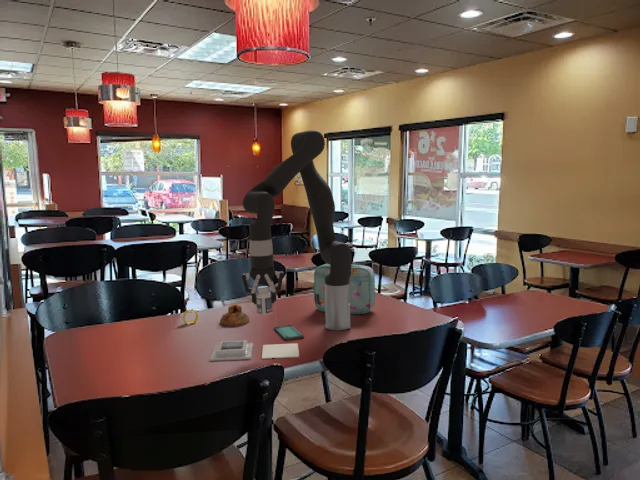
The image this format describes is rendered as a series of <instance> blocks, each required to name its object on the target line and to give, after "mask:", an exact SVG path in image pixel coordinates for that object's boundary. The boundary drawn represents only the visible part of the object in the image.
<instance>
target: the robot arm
mask: <svg viewBox="0 0 640 480" xmlns="http://www.w3.org/2000/svg"><path fill="white" fill-rule="evenodd" d="M325 143H326V142H325V137H324V135H323V134H322V132H320V131H319V130H316V129H310V130H306V131H305V130H304V131H301V132H297V133H295V134H293V135H292V137H291V139H290V149H291V153H292V154H291V155H290V156H288V157H287V158H286V159H284V160H283V161H282V162H280V163H279V164H277V165H276V166H275V167H274V168H273V169H272V170H271V171H270V172H269V173H268V175H266V177H265V178H264V179H263V180H262V181H261V182H259V183H258V184H256V185H254V187H252V188H251V189H250V190H248V191H247V192H246V194H245V195H244V197H243V200H242V207H243V209H244V210H245V211H246V212H247V213H249V214H256V219H255V220H254V221H251V222H249V226H248V231H249V235H248V236H249V258H250V259H249V261H250V262H249V263H250V271H249V272H247V273H242V274H241V280H242V284H243V287H244V290H245V292H246V293H250V294H251V302H252V303H253V304H254V305H256V295H257V292H256V291H257V288H258V285H263V284H265V285H266V284H268V287H269V289H271V294H272V304H275V302H277V292H278V291H281V290H282V284H283V280H284V271H283V270H281V271H277V270H276V269H275V268H274V267H275V266H274V265H275V264H274V249H273V241H272V240H273V239H272V230H271V229H272V228H271V227H272V222H273V216H274V213H275V207H276V205H275V199H274V197H278V196H279V195H281V194H282V192H283V191H284V190H285V189H286V188H287V186H288V185H289V184H290V183H291V181H292V180H293V179H294V178H295V177H296V176H297V175H298V174H300V177H301V180H302V183H303V186H304V190H305V193H306V199H307V203H308V207H309V209H310V210H309V211H310V212H311V215H312V216H311V217H312V219H313V224H314V227H315V231H316V236H317V240H318V241H317V242H318V249H319V254H320V256H321V259H322V261H324V263H325V264H330V274H329V275H326V276H325V312H324V314H325V315H324V316H325V318H324V319H325V328H326V329H327V330H331V331H344V330H348V329H349V330H350V329H351V314H350V303H349V278H350V276H351V264H352V250H351V248H350V246H349V245H348V244H347V243H346V242H342V241H338V239H337V236H336V233H335V228H334V219H335V214H336V206H335V205H336V204H335V200H334V196H333V192H332V190H331V188H330V185H328V182H326V180H325V179H324V178H323V176H321V174H320V173H319V171H318V170H317V168H316V167H315V163H314V160H315V159H316V158H317V157H319V155H321V154H322V153H323V151H324V149H325V146H326V144H325ZM275 275H276V278H277V279H278V280H277V281H278V282H277V285H276V286H275V284H274V281H273V279H274V277H275ZM250 277H251V278H252V280H253V285H252V287H250V284H249V279H250Z"/></svg>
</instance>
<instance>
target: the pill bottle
mask: <svg viewBox="0 0 640 480" xmlns="http://www.w3.org/2000/svg"><path fill="white" fill-rule="evenodd" d="M256 291H257V293H256V304H255V305H256V314H257V315H259V316H269V315H272V314H273V312H274V309H273V308H274V307H273V303H272V292H270V286H269V285H268V286H267V285H261V286H257V288H256Z"/></svg>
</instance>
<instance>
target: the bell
mask: <svg viewBox="0 0 640 480" xmlns="http://www.w3.org/2000/svg"><path fill="white" fill-rule="evenodd" d="M242 308H243V307H242V305H240V304H236V303H235V304H230V305H229V306H228V308H227V309H228V312H226V313H224V314H223V315H222V316H221V317H220V319H219V323H220V325H222V326H224V327H228V328H233V327H241V326H245V325H246V324H248V323H249V322H250V318H249V315H247V314H246V313H245V312H243V311H242V310H243V309H242Z"/></svg>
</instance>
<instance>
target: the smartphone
mask: <svg viewBox="0 0 640 480" xmlns="http://www.w3.org/2000/svg"><path fill="white" fill-rule="evenodd" d="M273 330H274V331H275V332H276V333H277V334H278V335H279V336H280V337H281V338H282V340H284V341H285V342H286V341H287V342H289V341H295V340H301V339H304V338H305V335H303V334H302V333H301V332H300V331H299V330H298V329H297V328H296V327H295V326H293V325H292V324H290V325H288V324H287V325H281V326H274V327H273Z"/></svg>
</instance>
